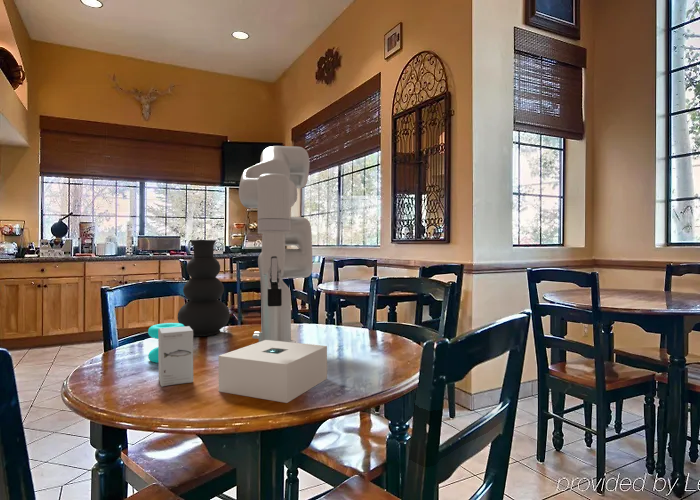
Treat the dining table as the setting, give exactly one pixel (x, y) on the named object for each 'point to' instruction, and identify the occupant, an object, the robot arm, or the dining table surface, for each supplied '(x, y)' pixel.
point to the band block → (272, 370)
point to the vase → (203, 292)
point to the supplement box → (175, 355)
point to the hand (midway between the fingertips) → (274, 305)
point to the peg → (275, 351)
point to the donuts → (153, 333)
